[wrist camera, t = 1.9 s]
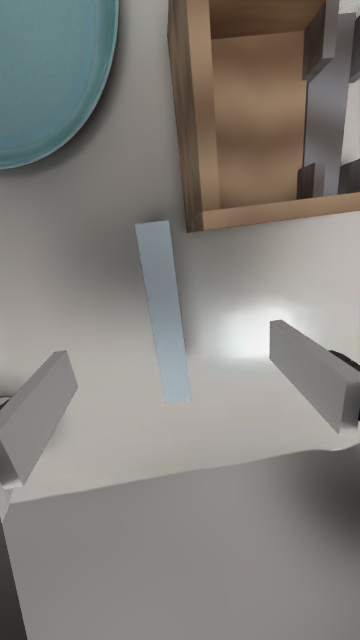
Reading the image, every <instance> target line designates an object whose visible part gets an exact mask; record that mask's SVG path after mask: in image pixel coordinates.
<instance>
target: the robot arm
mask: <svg viewBox="0 0 360 640" xmlns="http://www.w3.org/2000/svg"><path fill="white" fill-rule="evenodd" d="M270 360H271V361H272V362H273V363H274V364H275V365H276V366H277V367H278V368H279V370H280V371H281V372H282V373H283V374H284V375H285V376H286V377H287V378H288V379H289V380H290V382H291V383H292V384H293V385H294V386H295V387H296V388H297V389H298V390H299V391H300V393H301V394H302V395H303V396H304V397H305V398H306V399H307V400H308V401H309V402H310V404H311V405H312V406H313V407H314V408H315V409H316V410H317V411H318V412H319V413H320V414H321V416H322V417H323V418H324V419H325V420H326V421H327V422H328V423H329V424H330V425H331V427H332V428H333V429H334V430H335V431H336V432H337V433H338V434H339V435H342V434H348V433H354V432H357V427H358V421H360V365H358V364H357V363H356V362H354V361H351V359H349V358H348V357H346V356H345V355H343V354H341V353H338V352H335V351H332V350H330V351H328V350H326V349H325V348H323V347H322V346H320V345H319V344H317V343H316V342H314V341H313V340H311V339H310V338H308V337H307V336H305V335H304V334H302V333H301V332H299V331H298V330H296V329H295V328H293V327H292V326H290V325H289V324H287V323H286V322H284V321H283V320H276V321H270ZM77 388H78V385H77V382H76V379H75V376H74V373H73V370H72V366H71V363H70V360H69V357H68V354H67V351H59V352H54V353H53V354H52V355H51V356H50V357H49V358H48V359H47V360H46V362H45V363H44V364H43V365H42V366H41V367H40V368H39V369H38V370H37V371H36V372H35V373H34V374H33V376H32V377H31V378H30V379H29V380H28V381H27V382H26V383H25V384H24V385H23V386H22V387H21V388H20V390H19V391H18V392H17V393H16V394H15V395H14V396H13V397H12V398H11V399H8V400H7V401H5V402H4V403H3V404H1V405H0V483H1V485H2V486H3V488H4V489H10V488H16V487H22V486H24V485H25V483H26V481H27V479H28V477H29V475H30V474H31V472H32V470H33V468H34V466H35V465H36V463H37V461H38V459H39V457H40V455H41V454H42V452H43V450H44V448H45V446H46V445H47V443H48V441H49V439H50V437H51V436H52V434H53V432H54V430H55V428H56V426H57V425H58V423H59V421H60V419H61V417H62V416H63V414H64V412H65V410H66V408H67V406H68V405H69V403H70V401H71V399H72V397H73V396H74V394H75V392H76V390H77ZM0 640H27V635H26V631H25V626H24V622H23V618H22V613H21V608H20V604H19V599H18V595H17V590H16V586H15V582H14V577H13V572H12V568H11V564H10V559H9V554H8V550H7V545H6V541H5V536H4V532H3V527H2V523H1V518H0Z"/></svg>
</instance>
